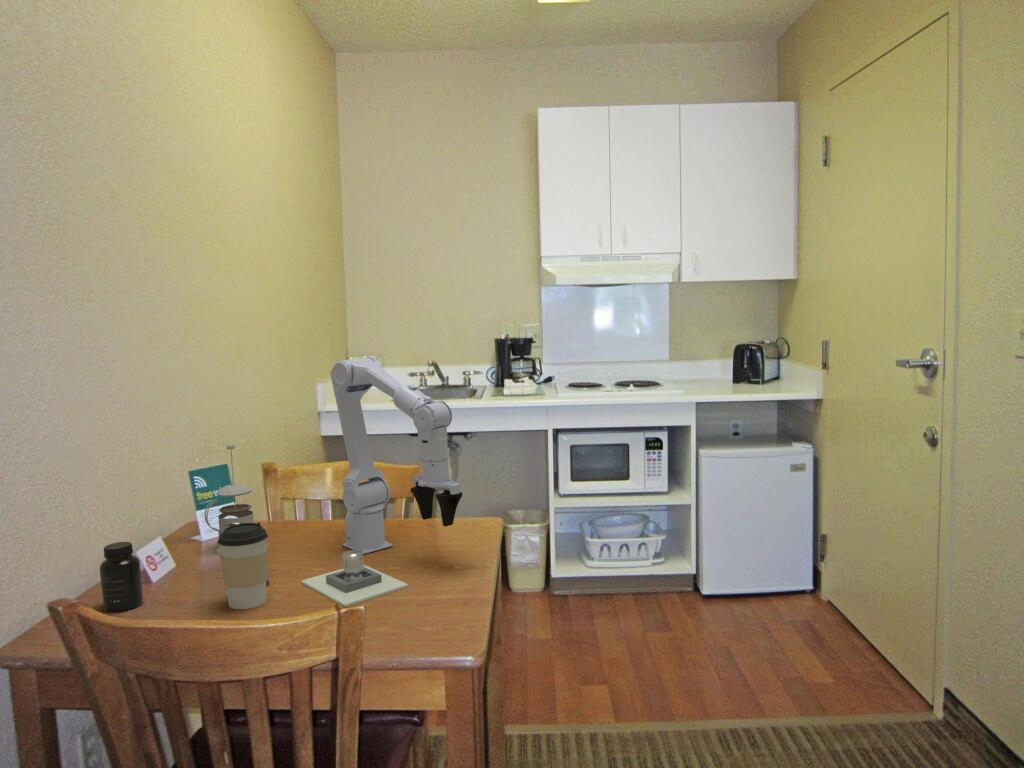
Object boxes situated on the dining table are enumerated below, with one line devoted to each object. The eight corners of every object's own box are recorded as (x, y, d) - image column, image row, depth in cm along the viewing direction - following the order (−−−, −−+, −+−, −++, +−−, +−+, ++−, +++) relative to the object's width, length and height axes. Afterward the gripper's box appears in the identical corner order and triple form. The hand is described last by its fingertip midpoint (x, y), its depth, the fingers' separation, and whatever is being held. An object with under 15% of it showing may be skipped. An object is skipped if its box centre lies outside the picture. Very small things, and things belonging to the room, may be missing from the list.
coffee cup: (223, 615, 137) (217, 535, 135) (221, 598, 145) (215, 523, 144) (274, 606, 140) (269, 528, 139) (269, 590, 149) (264, 516, 147)
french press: (264, 548, 176) (257, 443, 173) (213, 559, 169) (205, 450, 167) (253, 538, 184) (246, 438, 181) (203, 548, 177) (195, 444, 175)
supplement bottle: (113, 600, 146) (107, 540, 145) (149, 597, 147) (144, 538, 145) (96, 614, 139) (91, 551, 138) (134, 611, 140) (129, 549, 139)
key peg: (340, 582, 150) (338, 553, 149) (357, 576, 153) (355, 548, 152) (351, 587, 147) (349, 558, 147) (368, 581, 150) (366, 552, 149)
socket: (301, 582, 152) (300, 573, 152) (361, 565, 161) (360, 556, 161) (345, 607, 139) (344, 596, 138) (408, 586, 148) (407, 576, 148)
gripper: (399, 457, 161) (402, 519, 162) (439, 466, 150) (442, 532, 151) (426, 453, 166) (429, 512, 167) (467, 461, 155) (469, 525, 156)
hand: (437, 521), depth 159 cm, fingers open, 7 cm apart
